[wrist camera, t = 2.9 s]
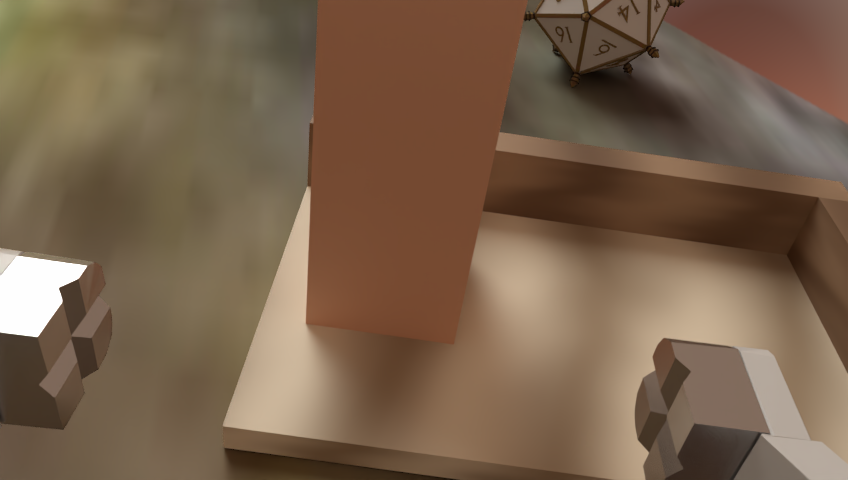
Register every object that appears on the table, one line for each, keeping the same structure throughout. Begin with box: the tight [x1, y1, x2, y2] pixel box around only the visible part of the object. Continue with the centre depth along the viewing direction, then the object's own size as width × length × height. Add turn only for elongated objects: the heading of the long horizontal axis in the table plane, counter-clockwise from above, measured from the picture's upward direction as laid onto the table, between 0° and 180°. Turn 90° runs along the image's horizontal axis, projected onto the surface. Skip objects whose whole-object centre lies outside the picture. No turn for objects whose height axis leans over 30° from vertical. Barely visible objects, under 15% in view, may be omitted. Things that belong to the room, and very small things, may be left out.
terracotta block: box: [306, 0, 528, 344], centre depth 23 cm, size 5×5×12 cm
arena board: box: [222, 114, 848, 480], centre depth 26 cm, size 22×14×4 cm, turn 86°
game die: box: [524, 0, 684, 88], centre depth 44 cm, size 9×8×10 cm
